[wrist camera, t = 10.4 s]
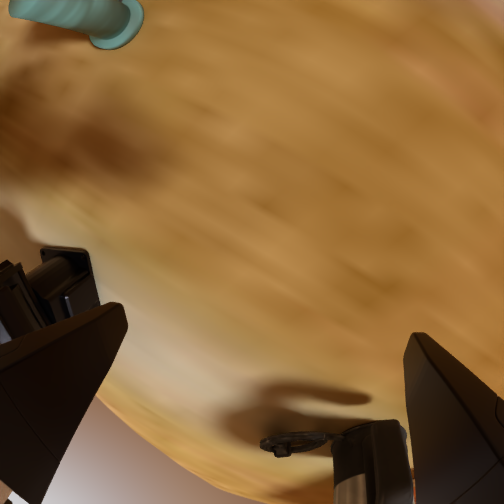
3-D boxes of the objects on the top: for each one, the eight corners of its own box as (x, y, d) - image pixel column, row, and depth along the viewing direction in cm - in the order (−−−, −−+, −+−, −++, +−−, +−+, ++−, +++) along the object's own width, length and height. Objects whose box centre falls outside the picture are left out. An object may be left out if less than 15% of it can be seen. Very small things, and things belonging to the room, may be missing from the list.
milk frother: (407, 449, 29) (420, 547, 16) (291, 472, 34) (279, 565, 20) (399, 383, 25) (427, 521, 12) (250, 417, 30) (220, 541, 16)
